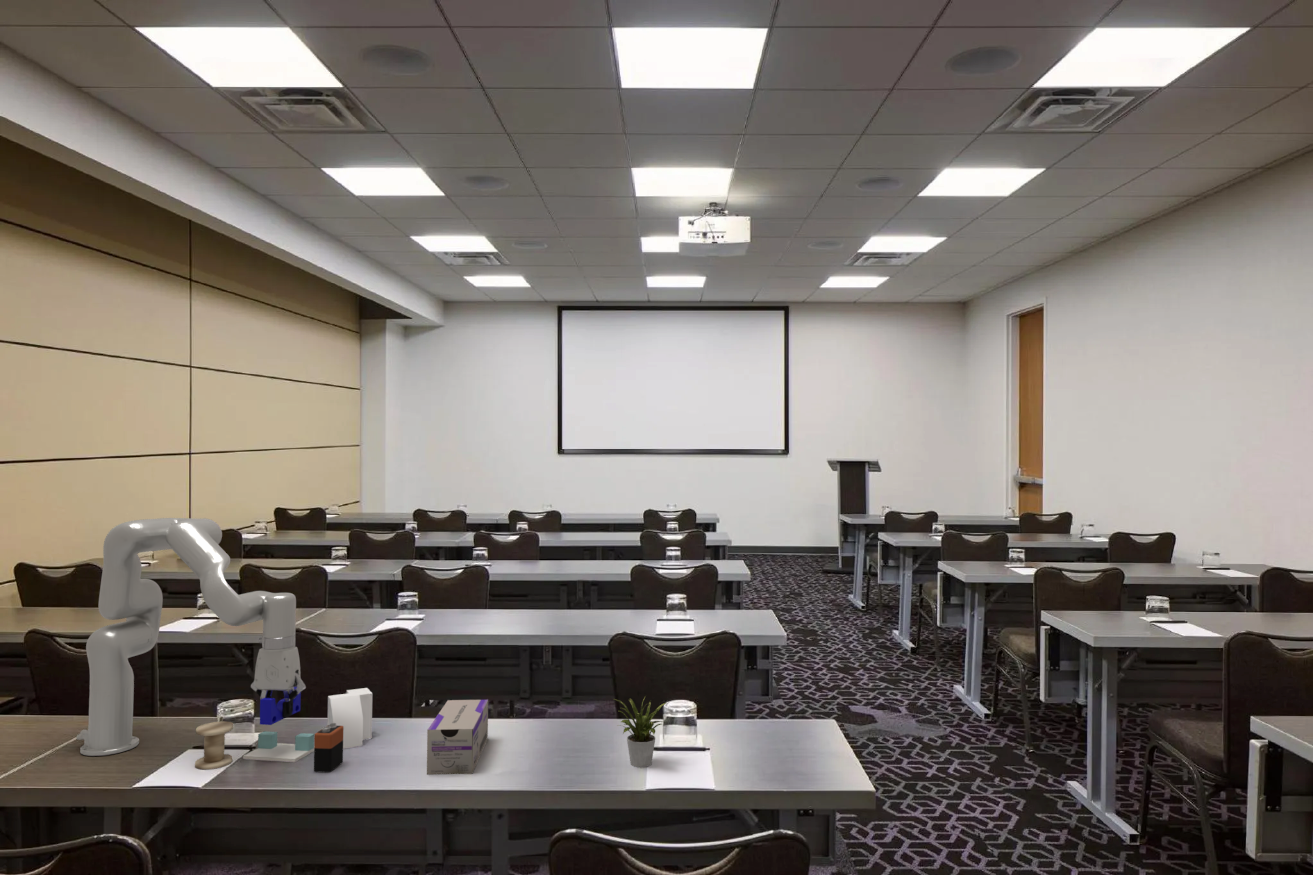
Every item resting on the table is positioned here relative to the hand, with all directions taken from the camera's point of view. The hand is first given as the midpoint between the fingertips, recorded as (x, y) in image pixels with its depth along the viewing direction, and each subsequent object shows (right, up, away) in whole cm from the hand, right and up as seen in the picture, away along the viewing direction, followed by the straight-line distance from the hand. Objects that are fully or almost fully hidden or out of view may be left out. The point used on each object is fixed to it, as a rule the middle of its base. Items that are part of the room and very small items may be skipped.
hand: (277, 715), depth 204 cm
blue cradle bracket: (0, -1, 0) cm, 1 cm away
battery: (+16, -10, -8) cm, 21 cm away
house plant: (+90, -11, -5) cm, 91 cm away
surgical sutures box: (+46, -11, +1) cm, 47 cm away
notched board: (0, -10, +2) cm, 10 cm away
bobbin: (-13, -10, -6) cm, 17 cm away
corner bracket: (+14, -11, +12) cm, 21 cm away
